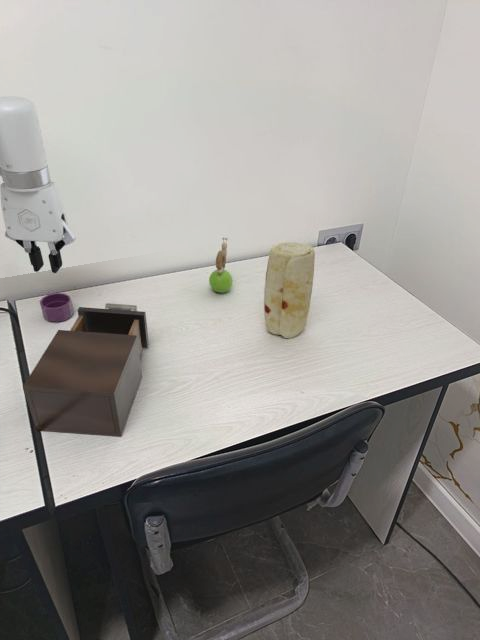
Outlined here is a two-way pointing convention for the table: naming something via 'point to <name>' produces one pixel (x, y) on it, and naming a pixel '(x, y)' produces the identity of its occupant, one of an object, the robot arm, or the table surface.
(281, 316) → the food model
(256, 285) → the table surface
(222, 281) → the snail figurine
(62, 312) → the bowl
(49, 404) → the dark wooden cabinet
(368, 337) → the table surface
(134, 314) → the drawer
